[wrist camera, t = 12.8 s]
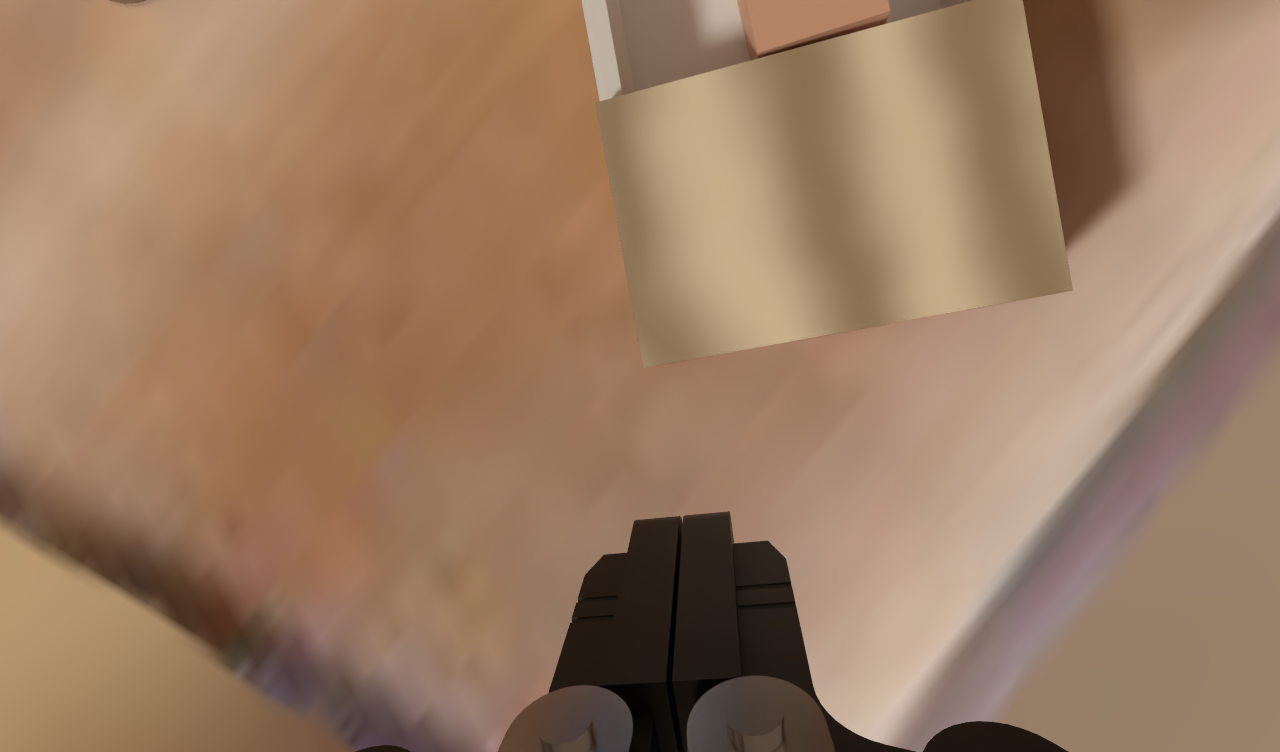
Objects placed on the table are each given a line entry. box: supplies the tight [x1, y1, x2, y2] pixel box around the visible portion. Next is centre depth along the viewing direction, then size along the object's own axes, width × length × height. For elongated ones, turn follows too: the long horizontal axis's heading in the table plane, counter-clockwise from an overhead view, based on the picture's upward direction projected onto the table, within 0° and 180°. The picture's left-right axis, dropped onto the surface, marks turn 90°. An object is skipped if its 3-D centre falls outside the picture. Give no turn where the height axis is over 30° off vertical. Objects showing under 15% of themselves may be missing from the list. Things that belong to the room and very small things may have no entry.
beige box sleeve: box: [596, 0, 1073, 368], centre depth 28 cm, size 16×11×6 cm
